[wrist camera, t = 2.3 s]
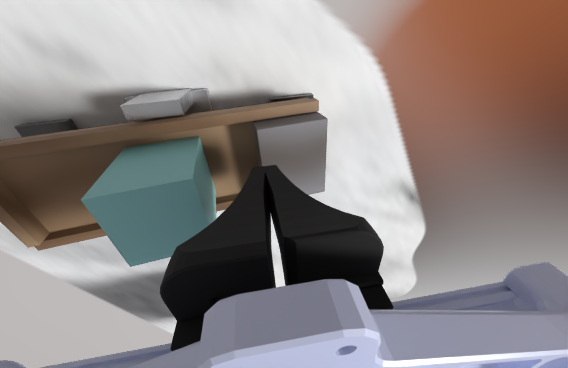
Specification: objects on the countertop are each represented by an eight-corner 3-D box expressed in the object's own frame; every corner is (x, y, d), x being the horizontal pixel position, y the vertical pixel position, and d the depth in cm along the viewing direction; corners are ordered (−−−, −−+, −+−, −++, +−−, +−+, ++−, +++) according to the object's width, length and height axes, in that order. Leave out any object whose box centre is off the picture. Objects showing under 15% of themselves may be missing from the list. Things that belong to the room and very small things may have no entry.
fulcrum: (311, 178, 20) (321, 199, 17) (84, 209, 18) (56, 238, 15) (311, 76, 15) (325, 84, 12) (8, 106, 13) (-51, 123, 11)
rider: (215, 190, 15) (216, 245, 11) (153, 203, 14) (130, 266, 10) (199, 135, 13) (192, 178, 9) (124, 147, 12) (80, 199, 8)
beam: (305, 172, 19) (324, 199, 15) (62, 221, 15) (23, 268, 12) (304, 92, 15) (327, 105, 12) (-13, 134, 12) (-95, 168, 9)
